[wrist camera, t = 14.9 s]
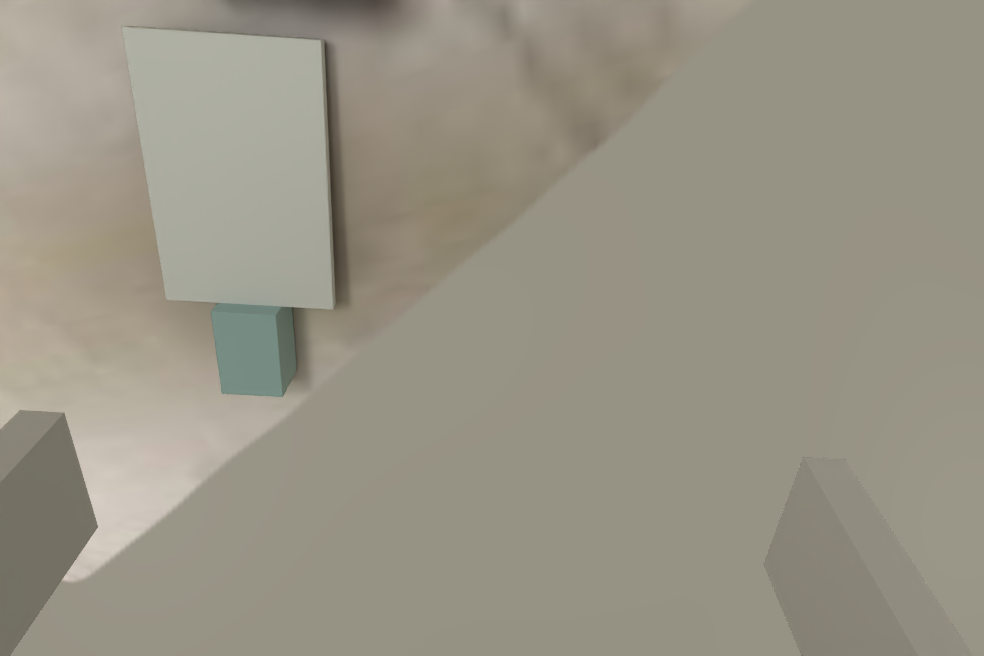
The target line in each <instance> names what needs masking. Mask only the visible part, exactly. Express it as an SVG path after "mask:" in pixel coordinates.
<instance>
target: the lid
mask: <svg viewBox="0 0 984 656" xmlns="http://www.w3.org/2000/svg"><path fill="white" fill-rule="evenodd" d="M122 33H123V39H124V45H125V51H126V57H127V63H128V69H129V75H130V82H131V88H132V94H133V100H134V106H135V112H136V118H137V124H138V130H139V136H140V142H141V148H142V155H143V161H144V167H145V173H146V179H147V185H148V191H149V197H150V203H151V209H152V215H153V222H154V228H155V234H156V240H157V246H158V252H159V258H160V264H161V270H162V276H163V282H164V288H165V295H166V300H180V301H197V302H213V303H218V304H217V305H216V306H215V307H214V308H213V310H212V311H211V316H212V324H213V331H214V339H215V346H216V354H217V361H218V369H219V376H220V384H221V391H222V394H240V395H257V396H275V397H283V395H284V393H285V391H286V389H287V388H288V386H289V384H290V382H291V380H292V378H293V376H294V374H295V372H296V370H297V365H296V352H295V339H294V325H293V312H292V307H298V308H315V309H332V310H333V309H334V307H335V305H336V299H335V277H334V254H333V231H332V208H331V185H330V162H329V140H328V117H327V94H326V71H325V48H324V39H315V38H300V37H285V36H270V35H255V34H240V33H225V32H210V31H196V30H181V29H166V28H151V27H136V26H125V27H122Z"/></svg>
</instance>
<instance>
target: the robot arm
mask: <svg viewBox="0 0 984 656" xmlns="http://www.w3.org/2000/svg"><path fill="white" fill-rule="evenodd" d="M97 528H98V525H97V522H96V518H95V515H94V512H93V508H92V505H91V502H90V498H89V495H88V491H87V488H86V485H85V481H84V478H83V475H82V471H81V468H80V464H79V461H78V458H77V454H76V451H75V447H74V444H73V441H72V437H71V434H70V431H69V427H68V424H67V420H66V417H65V414H64V413H59V412H42V411H26V410H20V411H19V412H18V413H17V414H16V415H15V416H14V417H13V418H12V419H11V420H10V421H9V422H8V423H6V424H5V425H4V426H3V427H2V428H1V429H0V656H10V655H11V654H12V652H13V651H14V649H15V648H16V646H17V645H18V643H19V642H20V640H21V639H22V637H23V636H24V635H25V633H26V631H27V630H28V629H29V627H30V626H31V624H32V623H33V621H34V620H35V618H36V617H37V615H38V614H39V612H40V611H41V610H42V608H43V607H44V605H45V604H46V602H47V601H48V599H49V598H50V596H51V595H52V594H53V592H54V590H55V589H56V587H57V586H58V585H59V583H60V582H61V580H62V579H63V577H64V576H65V574H66V573H67V572H68V570H69V569H70V567H71V566H72V564H73V563H74V561H75V560H76V558H77V557H78V555H79V554H80V553H81V551H82V550H83V548H84V547H85V545H86V544H87V542H88V541H89V539H90V538H91V536H92V535H93V533H94V532H95V531H96V529H97ZM764 566H765V569H766V571H767V574H768V576H769V579H770V581H771V583H772V586H773V588H774V591H775V593H776V595H777V598H778V600H779V603H780V605H781V607H782V610H783V612H784V615H785V617H786V619H787V622H788V624H789V627H790V629H791V631H792V634H793V636H794V639H795V641H796V644H797V646H798V648H799V651H800V653H801V656H974V655H973V653H972V652H971V651H970V649H969V647H968V646H967V644H966V643H965V641H964V640H963V638H962V637H961V635H960V634H959V632H958V631H957V629H956V628H955V626H954V625H953V623H952V621H951V620H950V618H949V617H948V615H947V614H946V612H945V611H944V609H943V608H942V606H941V605H940V603H939V602H938V600H937V599H936V597H935V596H934V594H933V593H932V591H931V589H930V588H929V586H928V585H927V584H926V582H925V580H924V579H923V577H922V576H921V574H920V573H919V571H918V570H917V568H916V567H915V565H914V563H913V562H912V560H911V559H910V557H909V556H908V554H907V553H906V551H905V550H904V548H903V547H902V545H901V544H900V542H899V541H898V539H897V538H896V536H895V535H894V533H893V532H892V530H891V528H890V527H889V525H888V524H887V522H886V521H885V519H884V518H883V516H882V515H881V513H880V512H879V510H878V508H877V507H876V506H875V504H874V502H873V501H872V499H871V498H870V497H869V495H868V493H867V492H866V490H865V489H864V487H863V486H862V484H861V483H860V481H859V480H858V478H857V476H856V475H855V473H854V472H853V470H852V469H851V467H850V466H849V464H848V463H847V461H846V460H843V459H827V458H810V457H803V460H802V462H801V465H800V468H799V470H798V473H797V476H796V478H795V481H794V484H793V486H792V489H791V492H790V495H789V498H788V500H787V503H786V506H785V509H784V511H783V514H782V516H781V519H780V522H779V524H778V527H777V530H776V532H775V535H774V538H773V540H772V543H771V546H770V549H769V552H768V554H767V557H766V559H765V562H764Z"/></svg>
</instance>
